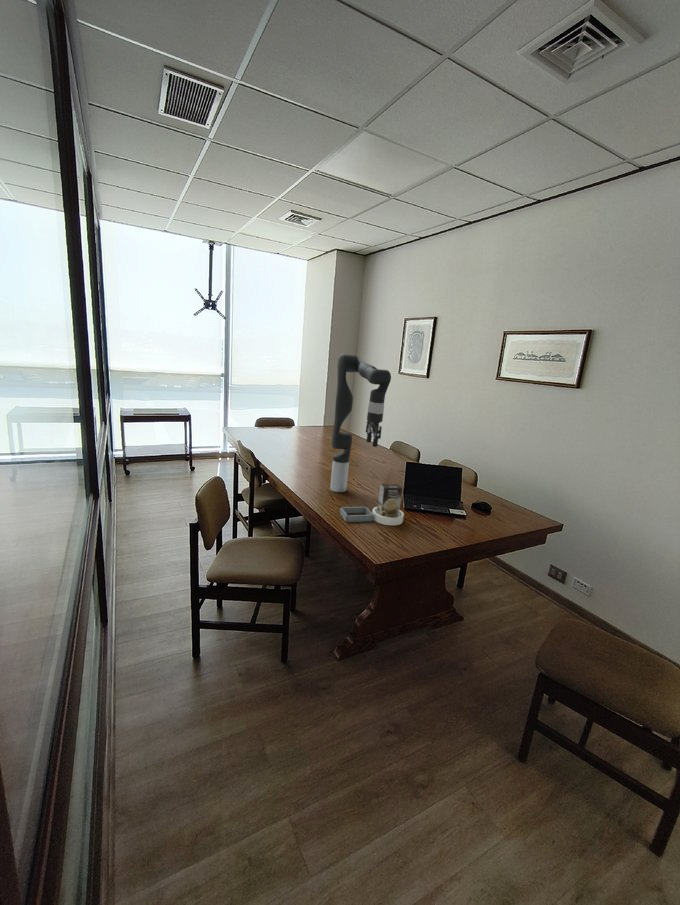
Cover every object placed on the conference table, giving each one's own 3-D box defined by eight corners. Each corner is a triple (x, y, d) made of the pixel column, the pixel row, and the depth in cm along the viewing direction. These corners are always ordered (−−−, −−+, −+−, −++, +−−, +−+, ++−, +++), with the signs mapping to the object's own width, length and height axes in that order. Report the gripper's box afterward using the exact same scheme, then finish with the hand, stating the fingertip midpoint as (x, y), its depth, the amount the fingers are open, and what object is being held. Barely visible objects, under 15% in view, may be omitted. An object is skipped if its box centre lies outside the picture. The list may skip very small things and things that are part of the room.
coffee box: (380, 519, 191) (384, 487, 187) (376, 514, 197) (379, 483, 193) (398, 519, 193) (402, 488, 189) (393, 514, 199) (397, 483, 195)
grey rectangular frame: (339, 512, 196) (340, 507, 195) (365, 512, 200) (366, 506, 199) (345, 522, 186) (346, 516, 186) (373, 521, 190) (373, 515, 189)
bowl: (367, 512, 199) (368, 506, 199) (395, 512, 204) (396, 505, 203) (378, 525, 186) (379, 518, 185) (407, 524, 190) (408, 518, 189)
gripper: (363, 408, 198) (359, 440, 202) (373, 413, 185) (369, 447, 189) (377, 409, 200) (373, 441, 204) (388, 414, 187) (384, 448, 191)
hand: (371, 444), depth 196 cm, fingers open, 8 cm apart
